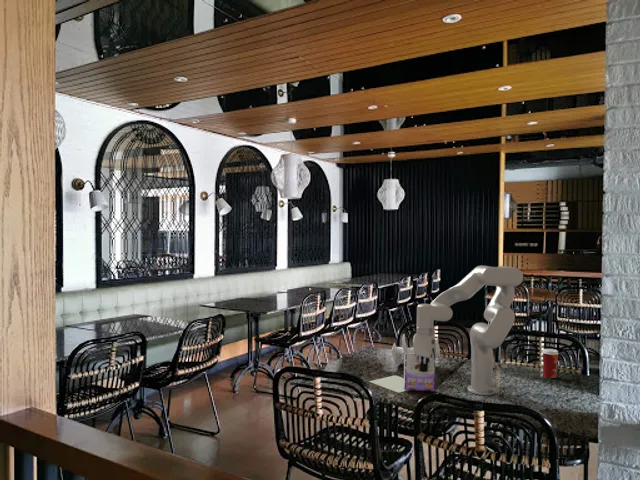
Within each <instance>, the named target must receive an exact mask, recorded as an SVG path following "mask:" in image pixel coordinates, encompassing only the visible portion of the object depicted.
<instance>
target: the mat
mask: <svg viewBox="0 0 640 480" xmlns="http://www.w3.org/2000/svg"><path fill="white" fill-rule="evenodd" d="M368 383H371V384H374V385H376V386H378V387H382V388H383V389H387V390H389V391H392V392H395V393H397V394H401V393H405V392H408V391H410V390H408V389H404V377H401V376H398V375H391V376H385V377H381V378H377V379H375V380H374V379H373V380H369V381H368Z"/></svg>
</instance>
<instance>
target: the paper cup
mask: <svg viewBox="0 0 640 480" xmlns="http://www.w3.org/2000/svg"><path fill="white" fill-rule="evenodd" d="M541 353H542V362H543V363H542V366H543V377H544V378H545V379H548V378H556V379H557V370H558V361H559V360H558V359H559V350H557V349H554V348H543V349H542V351H541Z"/></svg>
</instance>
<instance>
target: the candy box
mask: <svg viewBox="0 0 640 480" xmlns="http://www.w3.org/2000/svg"><path fill="white" fill-rule="evenodd" d="M403 378H404V389H408V390H409V391H423V392H424V391H427V392H435V391H436V361H435V357H434V361H430V362H429V363H428V371H427V372H421V371H420V362H419V359H418V358H417V357H416V356H415V353H405V355H404V359H403Z"/></svg>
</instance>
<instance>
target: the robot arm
mask: <svg viewBox="0 0 640 480" xmlns="http://www.w3.org/2000/svg"><path fill="white" fill-rule="evenodd" d="M523 280H524V274H523V272H522V270H520V269H519V268H517V267H512V266H507V265H506V266H505V265H500V266H489V265H477V266H475V267H474V268H473V269H472V270H471V271H470V272H469V273H468V274H467V275H466V276H464V277H463V278H462V279H461V280H460V281H458V283H456V284H455V285H454V286H452V287H449V288H448V289H447V290H445V291H443V292H441V293H440V294H439V295H438V296H436V298H435V299H434V300H432V301H431V302H430V304H429V303H420V304H418V305H417V306H416V328H415V329H416V330H415V331H416V333H415V334H414V335H415V339H414V353H415V356H416V357H417V358H418V359H419V362H420V371H421V372H427V371H428V363H429V362H430V361H434V357H435V356H436V335H435V333H436V332H435V330H434V321H439V322H448V321H449V320H451V319H452V317H453V314H454V313H453V310H452V308H451V306H452V305H454V304H456V303H458V302H462V301H466V300H467V301H468V299H471V298H472V297H473V296H474V295H475V294H476V293H477V292H479V291H480V290H481V289H482V288H483V287H484V286H485V285H486V286H491V287H492V286H493V287H495V292H494V294H493V296H492V298H491V299H490V301H489V303H488V304H487V307H486V308H485V310H484V312H483V318H484V319H485V320H486V321H487V322H488V323H489V324H487V323H485V322H476V323H475V324H473V325H471V326H472V327H470V331H469V338H470V345H471V357H470V361H471V362H470V363H471V364H470V385H468V386H467V391H468V392H470V393H472V394H475V395H479V396H492V395H496V394H499V392H500V387H498V386H495V385H496V383H495V382H494V381H493V380H494V379H493V376H494V375H493V374H494V373H493V371H494V369H493V368H494V350H493V349H497V348H498V347H500V346H501V345H502V344H503V342H504V341H505V339H506V338H507V336H508V334H509V332H510V331H511V329H512V327H513V325H514V323H515V319H516V316H515V313H514V311H513V309H512V308H510V307H511V306H512V303H513V301H514V298H515V293H516V292H515V287H518V286H519V285H520V284H522V282H523Z"/></svg>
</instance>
